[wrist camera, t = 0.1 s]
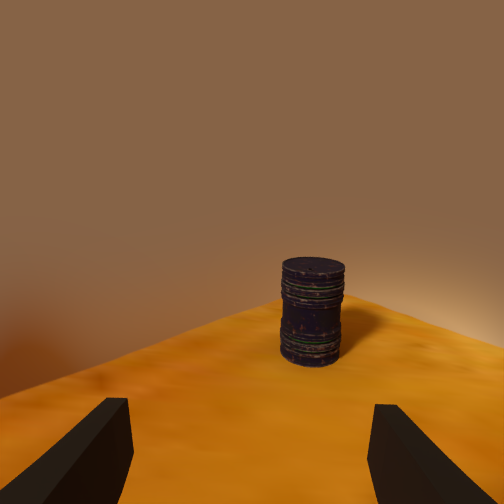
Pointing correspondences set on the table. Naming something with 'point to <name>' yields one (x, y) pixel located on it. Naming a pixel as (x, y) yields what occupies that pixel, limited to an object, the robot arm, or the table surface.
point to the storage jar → (311, 310)
